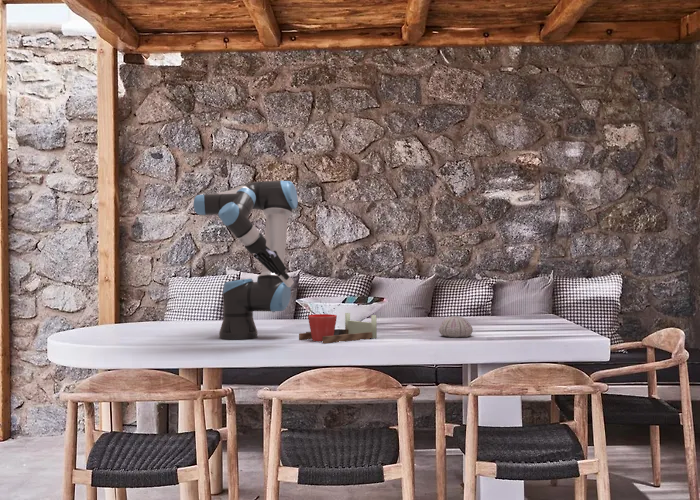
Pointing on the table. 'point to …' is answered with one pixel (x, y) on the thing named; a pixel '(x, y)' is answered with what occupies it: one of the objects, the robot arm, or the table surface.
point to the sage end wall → (361, 326)
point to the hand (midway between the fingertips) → (291, 284)
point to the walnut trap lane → (338, 336)
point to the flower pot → (322, 325)
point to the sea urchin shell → (455, 327)
